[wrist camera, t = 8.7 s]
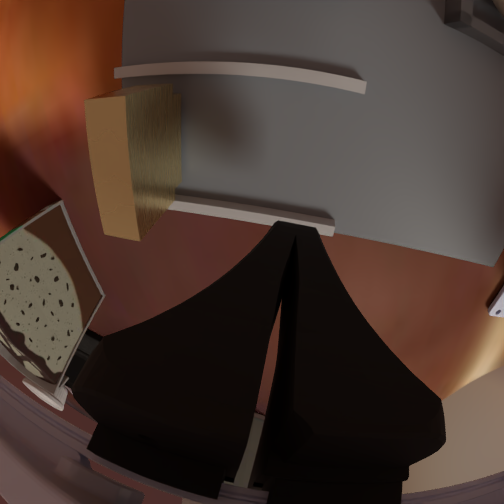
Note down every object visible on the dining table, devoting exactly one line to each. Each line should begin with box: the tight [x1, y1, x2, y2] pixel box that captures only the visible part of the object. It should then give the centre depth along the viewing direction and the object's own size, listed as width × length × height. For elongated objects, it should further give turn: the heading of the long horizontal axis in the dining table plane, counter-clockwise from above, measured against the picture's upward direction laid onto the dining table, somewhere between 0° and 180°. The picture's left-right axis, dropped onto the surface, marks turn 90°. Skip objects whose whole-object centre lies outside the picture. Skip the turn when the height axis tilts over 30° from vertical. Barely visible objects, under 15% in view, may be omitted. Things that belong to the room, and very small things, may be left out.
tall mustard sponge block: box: [84, 84, 182, 241], centre depth 10 cm, size 3×5×4 cm, turn 176°
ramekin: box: [23, 377, 67, 411], centre depth 47 cm, size 11×11×5 cm
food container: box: [0, 200, 105, 395], centre depth 17 cm, size 12×6×10 cm, turn 6°
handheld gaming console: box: [64, 329, 103, 388], centre depth 29 cm, size 12×7×10 cm
